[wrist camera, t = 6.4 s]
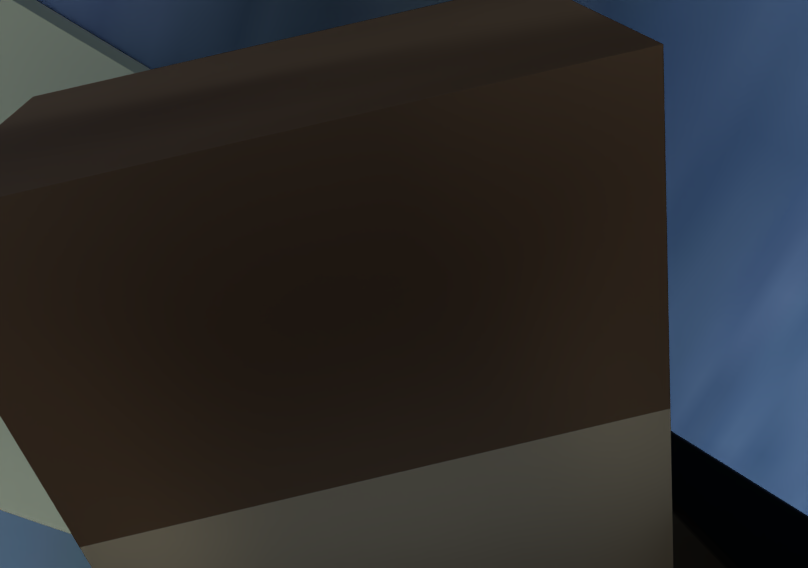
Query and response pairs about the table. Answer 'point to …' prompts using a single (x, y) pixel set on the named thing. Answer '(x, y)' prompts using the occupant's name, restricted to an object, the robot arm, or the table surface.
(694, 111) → the table surface
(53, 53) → the mat
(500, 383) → the two-tone brown block
